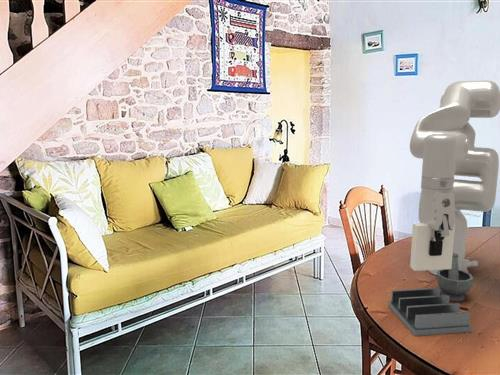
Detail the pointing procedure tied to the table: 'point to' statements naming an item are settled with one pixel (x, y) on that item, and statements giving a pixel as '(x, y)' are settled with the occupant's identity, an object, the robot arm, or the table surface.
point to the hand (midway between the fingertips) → (432, 252)
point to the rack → (428, 312)
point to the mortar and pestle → (454, 281)
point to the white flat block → (421, 249)
